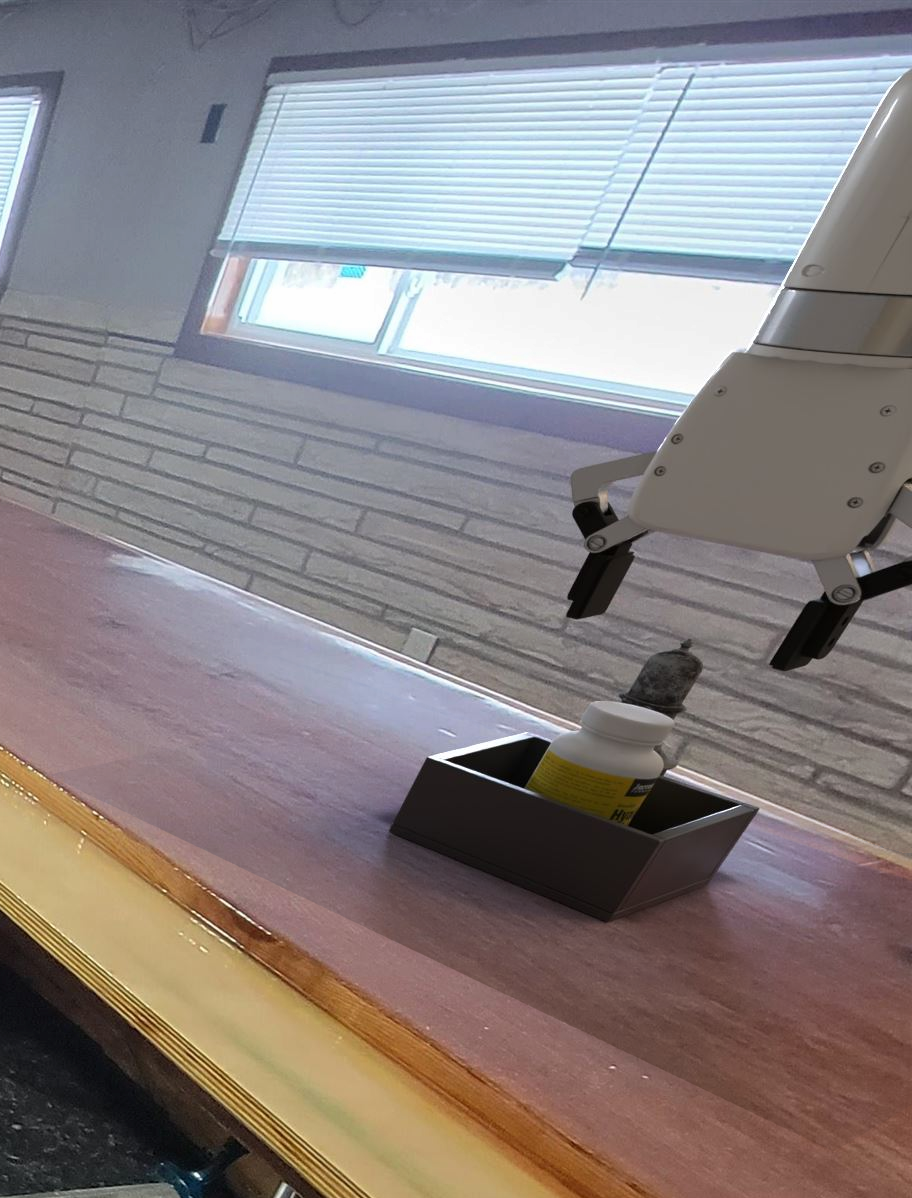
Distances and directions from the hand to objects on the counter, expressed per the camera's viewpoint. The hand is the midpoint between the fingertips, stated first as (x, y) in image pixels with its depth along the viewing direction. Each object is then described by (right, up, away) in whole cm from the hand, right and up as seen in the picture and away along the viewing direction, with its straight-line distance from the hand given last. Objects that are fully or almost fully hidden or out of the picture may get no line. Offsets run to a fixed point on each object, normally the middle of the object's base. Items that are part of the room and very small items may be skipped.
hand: (680, 640), depth 73 cm
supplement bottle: (-1, -13, +7) cm, 15 cm away
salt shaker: (+12, -9, +17) cm, 22 cm away
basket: (-1, -13, +7) cm, 15 cm away
